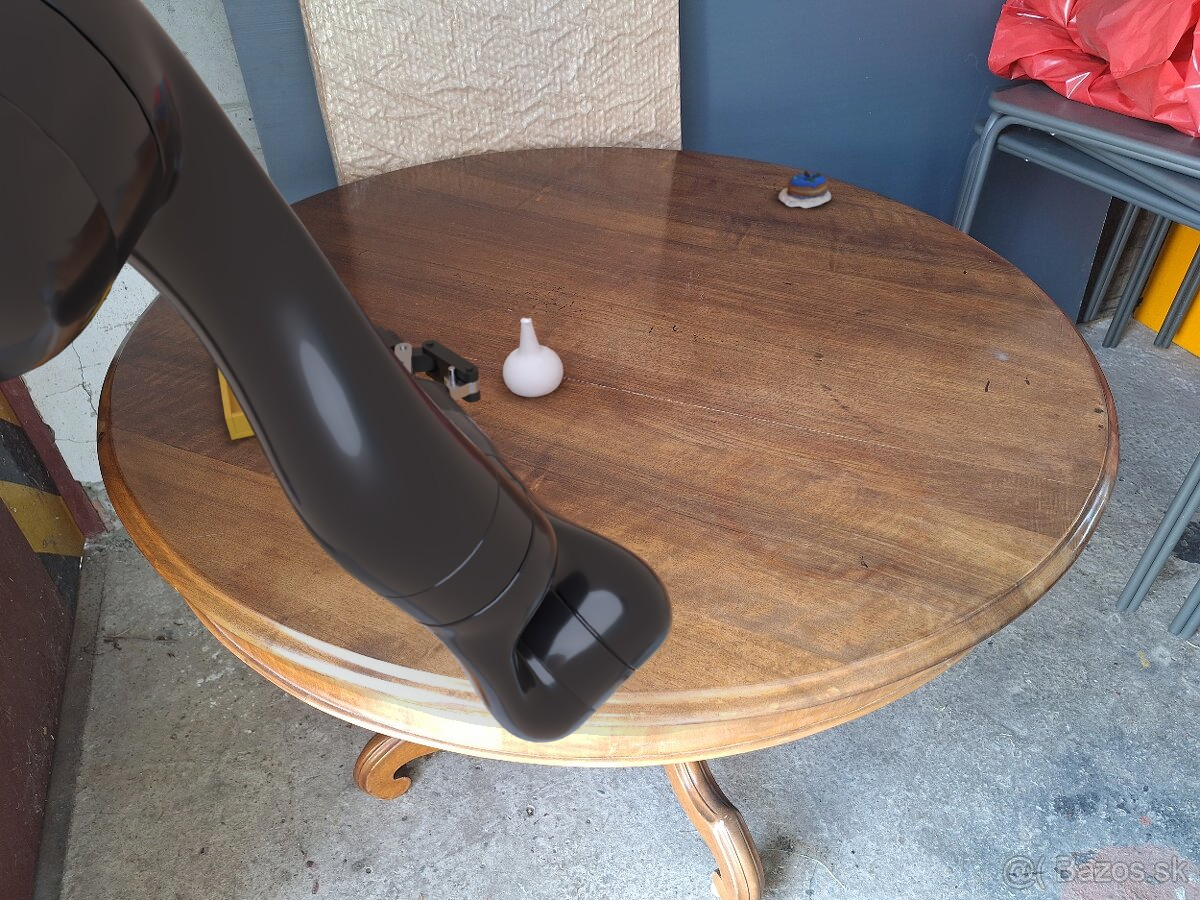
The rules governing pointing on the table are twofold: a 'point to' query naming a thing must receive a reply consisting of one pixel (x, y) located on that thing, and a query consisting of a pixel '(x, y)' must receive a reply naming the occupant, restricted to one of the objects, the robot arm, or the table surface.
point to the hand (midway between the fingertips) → (338, 348)
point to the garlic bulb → (532, 366)
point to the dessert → (805, 191)
